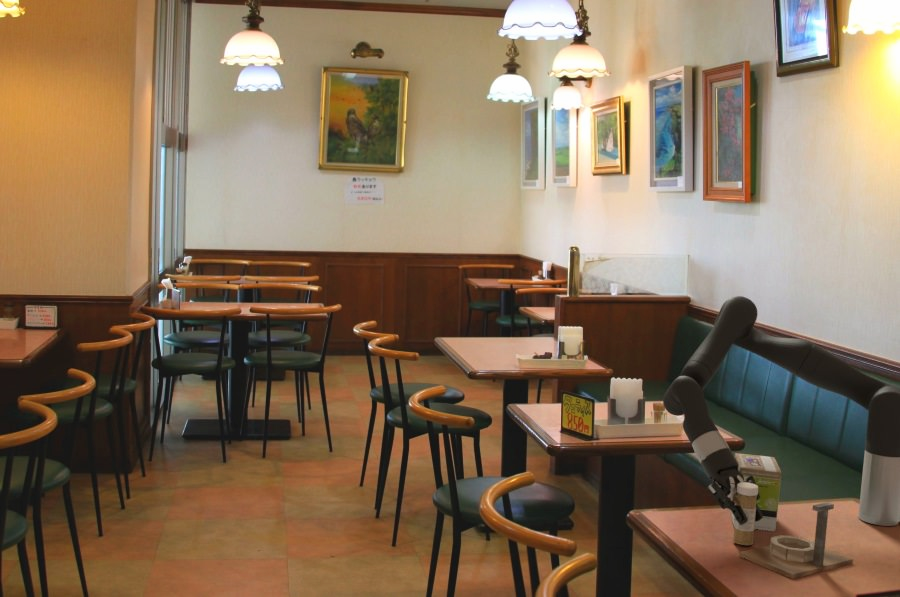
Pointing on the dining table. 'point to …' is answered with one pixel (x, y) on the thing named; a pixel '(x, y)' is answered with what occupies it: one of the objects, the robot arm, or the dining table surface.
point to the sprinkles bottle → (746, 513)
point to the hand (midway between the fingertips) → (751, 521)
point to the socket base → (792, 565)
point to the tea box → (762, 486)
